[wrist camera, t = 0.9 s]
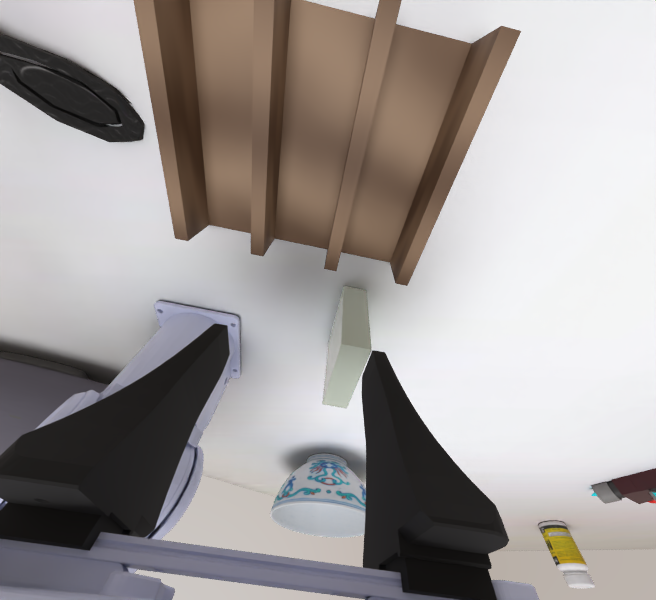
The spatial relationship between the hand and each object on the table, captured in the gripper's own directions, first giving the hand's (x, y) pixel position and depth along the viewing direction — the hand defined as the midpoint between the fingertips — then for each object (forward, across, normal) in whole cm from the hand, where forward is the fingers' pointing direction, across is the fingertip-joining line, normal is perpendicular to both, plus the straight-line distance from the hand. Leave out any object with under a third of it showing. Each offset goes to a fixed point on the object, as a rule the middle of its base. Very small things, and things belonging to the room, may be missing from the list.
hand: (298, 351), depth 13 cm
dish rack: (+10, +1, -8) cm, 13 cm away
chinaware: (+10, -7, +36) cm, 38 cm away
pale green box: (+10, -3, +5) cm, 12 cm away
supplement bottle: (+10, -54, +48) cm, 74 cm away
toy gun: (+10, -54, +27) cm, 61 cm away
